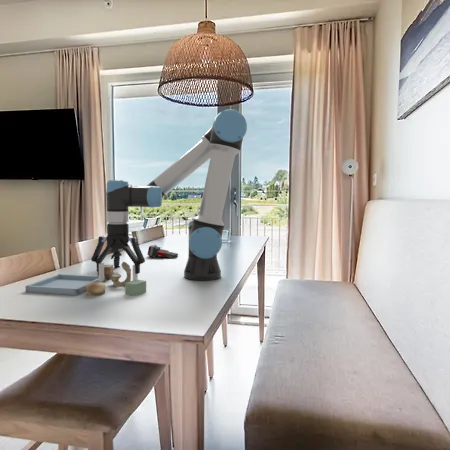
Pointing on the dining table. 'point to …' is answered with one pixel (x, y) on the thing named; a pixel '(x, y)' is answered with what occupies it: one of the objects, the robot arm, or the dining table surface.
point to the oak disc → (95, 288)
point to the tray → (63, 284)
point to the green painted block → (135, 287)
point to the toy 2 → (160, 252)
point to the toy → (116, 256)
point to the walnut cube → (107, 271)
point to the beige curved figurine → (116, 276)
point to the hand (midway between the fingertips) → (118, 281)
